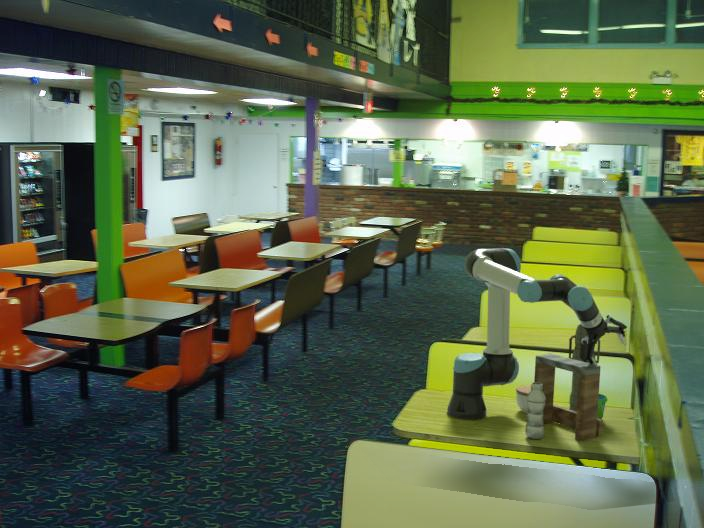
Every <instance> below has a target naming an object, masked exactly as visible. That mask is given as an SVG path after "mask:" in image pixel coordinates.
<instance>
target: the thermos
mask: <svg viewBox="0 0 704 528" xmlns="http://www.w3.org/2000/svg"><path fill="white" fill-rule="evenodd" d="M581 337H582V338H584V337H586V332H585V330H584V328H583V326H582V325H581V323H580V324H577V327H576V329H575V334H573V335H571V337H569V339H568V341H569V342H568V345H569V346H568V358H570V359H574V360H578V361H582V362H584V361H583V360H581V359H580V348H581V342H580V338H581ZM573 339H574V345H575V346H574V350H573V351H572V347H573V346H572V345H573ZM596 353H597V356H596ZM596 353H595V350H594V351H593V354H592V357H593V358H594V359H595V361H596V363H597V364H599V363H600V354H601V340H600V339H599V340H598V341H597V352H596ZM586 363H589V362H588V361H587V362H586ZM578 382H579V373H575V372H572V377H571V392H570V394H569V408H568V409H570V410H573V411H576V412H577V398H578Z"/></svg>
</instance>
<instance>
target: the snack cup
mask: <svg viewBox="0 0 704 528" xmlns="http://www.w3.org/2000/svg"><path fill="white" fill-rule="evenodd" d="M607 402H608V396H607V395H604V394H602V393H599V398H598V413H597V418H598V419H602V420H603V417H604V413H605V408H606V407H605V406H606V403H607Z"/></svg>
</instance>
